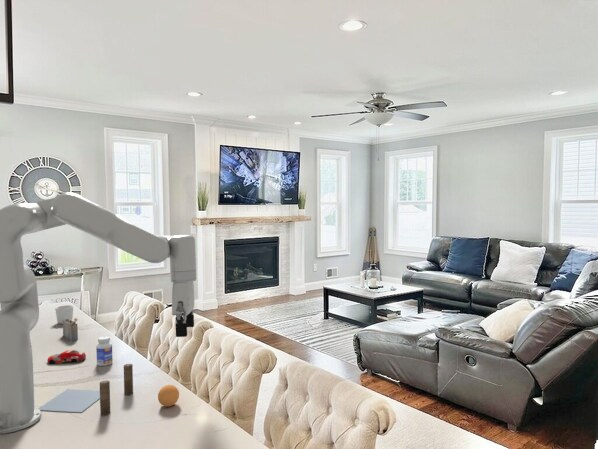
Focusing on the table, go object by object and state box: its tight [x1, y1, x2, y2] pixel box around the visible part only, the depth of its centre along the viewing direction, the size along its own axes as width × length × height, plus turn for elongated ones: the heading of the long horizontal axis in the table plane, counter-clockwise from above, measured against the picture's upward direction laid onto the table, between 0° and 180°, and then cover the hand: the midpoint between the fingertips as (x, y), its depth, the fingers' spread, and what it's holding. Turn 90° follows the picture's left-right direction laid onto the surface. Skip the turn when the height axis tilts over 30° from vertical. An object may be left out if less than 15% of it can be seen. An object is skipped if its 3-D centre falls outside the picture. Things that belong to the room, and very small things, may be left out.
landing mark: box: [37, 388, 100, 414], centre depth 132 cm, size 14×14×1 cm
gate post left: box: [99, 380, 111, 417], centre depth 123 cm, size 3×3×9 cm
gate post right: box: [123, 363, 134, 396], centre depth 136 cm, size 3×3×9 cm
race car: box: [46, 349, 87, 365], centre depth 165 cm, size 13×5×4 cm, turn 97°
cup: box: [54, 304, 74, 325], centre depth 220 cm, size 11×8×8 cm
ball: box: [157, 384, 180, 407], centre depth 128 cm, size 6×6×6 cm
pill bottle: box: [95, 336, 114, 367], centre depth 162 cm, size 5×5×10 cm
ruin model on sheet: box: [62, 317, 79, 342], centre depth 194 cm, size 11×3×10 cm, turn 45°
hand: (185, 331), depth 132 cm, fingers open, 9 cm apart
